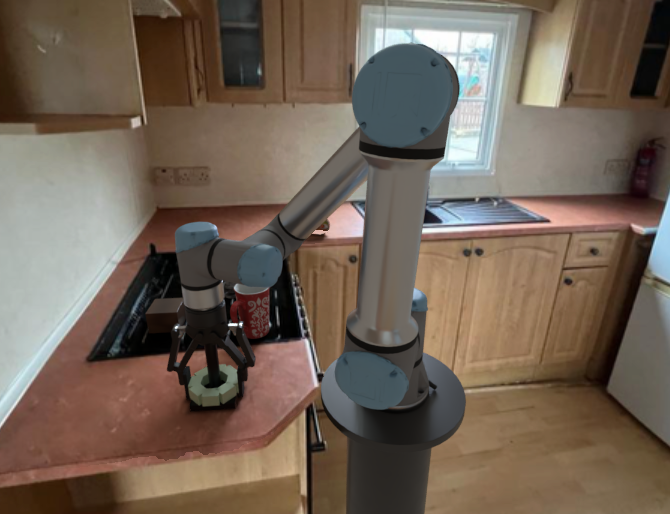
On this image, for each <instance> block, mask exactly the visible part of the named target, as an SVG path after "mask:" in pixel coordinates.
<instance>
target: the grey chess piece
mask: <svg viewBox="0 0 670 514" xmlns="http://www.w3.org/2000/svg"><path fill="white" fill-rule="evenodd" d="M236 284H237V283H232V282H228V281H223V288H224V298H226V299H236V295H235V291H234V286H235V285H236Z"/></svg>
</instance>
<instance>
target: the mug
mask: <svg viewBox="0 0 670 514" xmlns="http://www.w3.org/2000/svg"><path fill="white" fill-rule="evenodd" d="M270 288H271V287H269V288H262V287H248V286H245V285H241V284H236V285H235V286H234V291H235V295H236V298H235V299H236V300H235V301H233V303H232V304H231V306H230V310H229V315H230V319H231V321H232V323H238V322H239V321H243V323H244V332H245V334H246V336H247V339H250V340H257V339H260V338H263V337H265V336H267V335H268V334H269V333H270ZM238 318H239V319H238Z"/></svg>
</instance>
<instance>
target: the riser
mask: <svg viewBox="0 0 670 514" xmlns="http://www.w3.org/2000/svg"><path fill="white" fill-rule="evenodd" d="M184 307H185V305H184V302H183V297H173V298H172V297H167V298H166V297H165V298H154V300H153V301H152V303H151V304H150V306H149V307H148V309H147V311H146V312H145V314H144V315H145V320H146V326H147V330H148V334H165V333H171V331H172V329H173V327H174V325H175V324H179V325H180V326H184V324H185V321H186V315H185V308H184Z"/></svg>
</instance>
